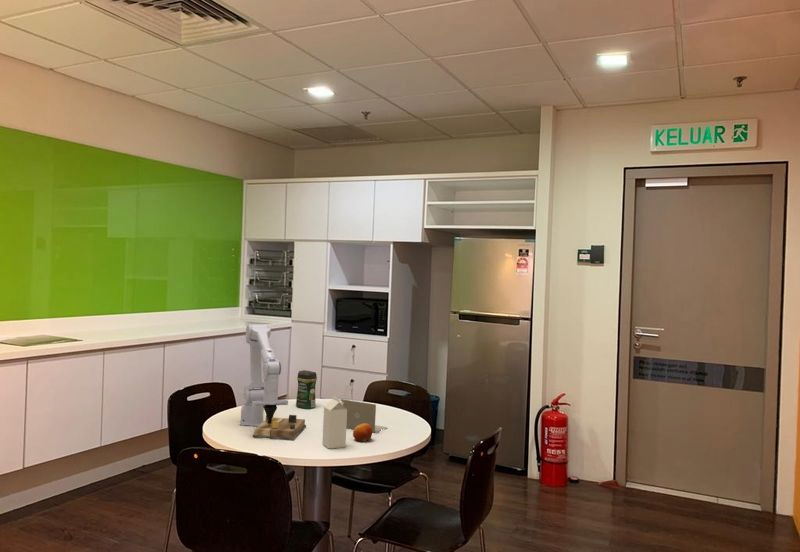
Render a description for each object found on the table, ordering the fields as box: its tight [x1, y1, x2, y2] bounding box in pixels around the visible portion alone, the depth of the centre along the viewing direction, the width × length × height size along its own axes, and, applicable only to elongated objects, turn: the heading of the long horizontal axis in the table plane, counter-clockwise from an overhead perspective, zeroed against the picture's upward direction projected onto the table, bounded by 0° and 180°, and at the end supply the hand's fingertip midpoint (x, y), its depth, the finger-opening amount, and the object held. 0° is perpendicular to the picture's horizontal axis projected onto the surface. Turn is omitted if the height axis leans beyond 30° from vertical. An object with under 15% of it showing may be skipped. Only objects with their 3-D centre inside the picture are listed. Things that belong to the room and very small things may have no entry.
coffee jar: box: [295, 369, 318, 410], centre depth 299 cm, size 10×8×19 cm
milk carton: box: [321, 395, 347, 450], centre depth 233 cm, size 7×7×19 cm
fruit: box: [352, 423, 373, 443], centre depth 243 cm, size 8×8×8 cm
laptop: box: [340, 398, 388, 434], centre depth 263 cm, size 18×12×13 cm
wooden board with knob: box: [252, 414, 307, 441], centre depth 249 cm, size 17×22×6 cm
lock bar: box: [265, 415, 279, 428], centre depth 247 cm, size 13×3×2 cm, turn 25°
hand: (269, 423), depth 244 cm, fingers closed, pressing on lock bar
